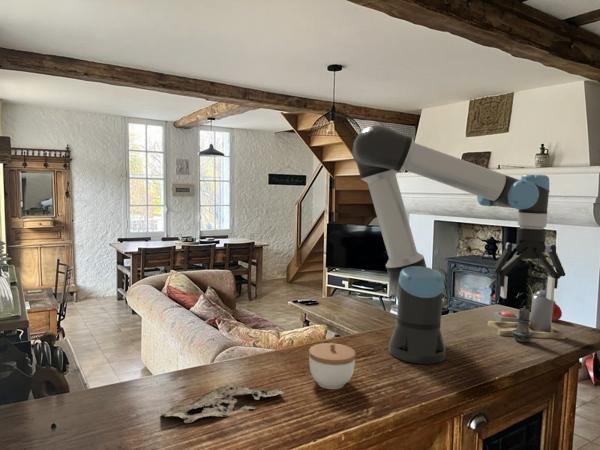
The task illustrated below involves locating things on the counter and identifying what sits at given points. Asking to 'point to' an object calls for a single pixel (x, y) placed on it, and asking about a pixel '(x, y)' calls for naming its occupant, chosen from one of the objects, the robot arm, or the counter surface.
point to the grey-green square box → (505, 319)
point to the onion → (556, 312)
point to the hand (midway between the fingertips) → (526, 298)
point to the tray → (507, 328)
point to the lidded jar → (331, 364)
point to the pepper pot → (541, 312)
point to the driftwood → (217, 403)
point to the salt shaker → (523, 326)
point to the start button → (507, 314)
